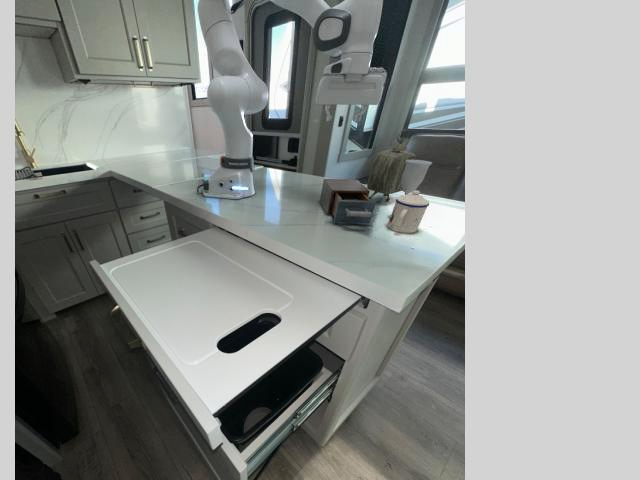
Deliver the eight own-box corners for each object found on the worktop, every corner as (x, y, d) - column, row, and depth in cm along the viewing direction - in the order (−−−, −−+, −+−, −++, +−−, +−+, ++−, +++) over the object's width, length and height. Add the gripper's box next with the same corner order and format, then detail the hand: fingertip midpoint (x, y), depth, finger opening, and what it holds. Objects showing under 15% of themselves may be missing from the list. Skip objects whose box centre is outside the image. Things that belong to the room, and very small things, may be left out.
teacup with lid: (391, 220, 92) (405, 185, 84) (420, 227, 87) (437, 190, 80) (379, 231, 85) (392, 193, 77) (409, 239, 80) (426, 200, 73)
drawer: (374, 228, 84) (381, 207, 79) (337, 227, 84) (342, 206, 80) (357, 208, 99) (362, 189, 95) (326, 207, 99) (330, 188, 95)
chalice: (404, 215, 96) (426, 160, 85) (412, 222, 90) (436, 164, 79) (383, 214, 96) (402, 159, 85) (389, 221, 91) (411, 163, 80)
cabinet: (362, 216, 95) (369, 191, 90) (326, 214, 95) (332, 190, 90) (350, 202, 107) (356, 179, 102) (319, 201, 108) (323, 178, 102)
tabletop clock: (383, 195, 115) (406, 126, 100) (403, 200, 109) (430, 129, 94) (362, 200, 109) (382, 128, 94) (381, 206, 103) (406, 130, 88)
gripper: (384, 68, 83) (371, 121, 92) (319, 68, 84) (311, 120, 93) (392, 66, 78) (377, 122, 87) (322, 66, 79) (314, 121, 88)
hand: (342, 121), depth 90 cm, fingers open, 8 cm apart
